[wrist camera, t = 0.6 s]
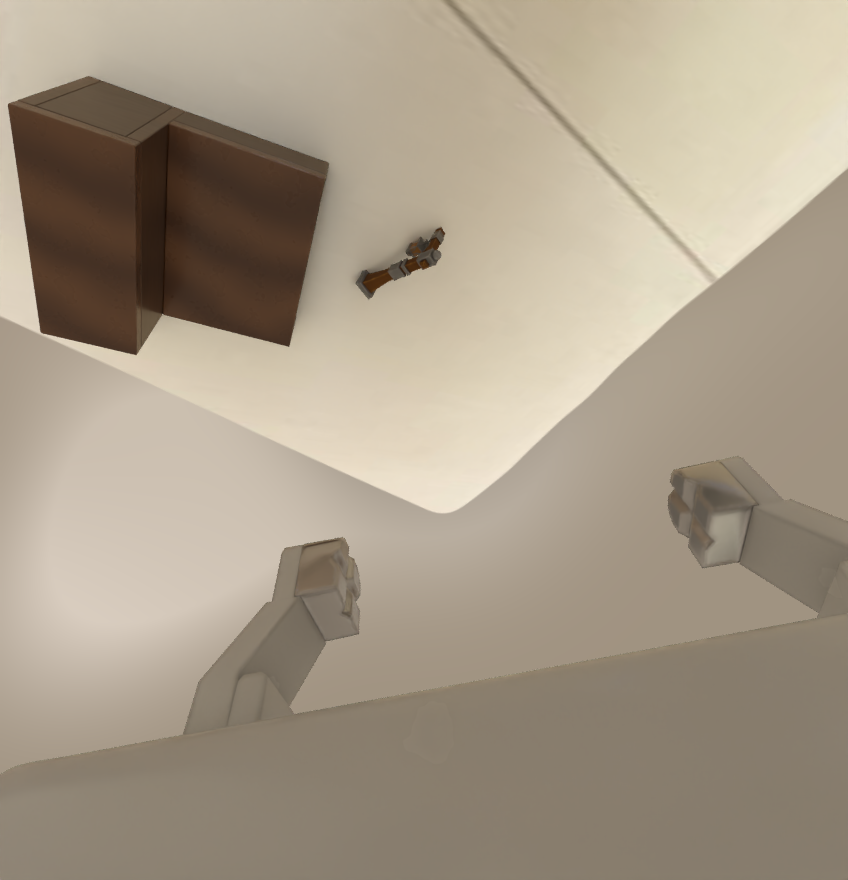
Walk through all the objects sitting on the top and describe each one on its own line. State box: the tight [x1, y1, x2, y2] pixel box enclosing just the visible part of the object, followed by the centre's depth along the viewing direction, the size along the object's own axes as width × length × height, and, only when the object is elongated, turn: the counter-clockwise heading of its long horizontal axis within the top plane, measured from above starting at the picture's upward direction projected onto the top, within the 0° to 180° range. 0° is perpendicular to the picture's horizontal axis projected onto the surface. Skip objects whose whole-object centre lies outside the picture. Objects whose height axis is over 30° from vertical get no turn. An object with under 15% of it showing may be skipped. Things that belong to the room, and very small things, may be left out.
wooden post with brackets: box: [356, 228, 445, 299], centre depth 42 cm, size 2×8×4 cm, turn 124°
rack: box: [8, 76, 329, 355], centre depth 36 cm, size 14×16×10 cm
